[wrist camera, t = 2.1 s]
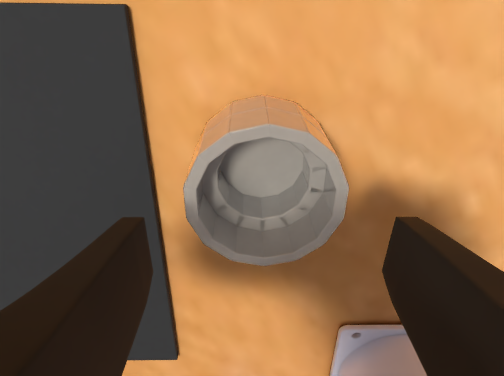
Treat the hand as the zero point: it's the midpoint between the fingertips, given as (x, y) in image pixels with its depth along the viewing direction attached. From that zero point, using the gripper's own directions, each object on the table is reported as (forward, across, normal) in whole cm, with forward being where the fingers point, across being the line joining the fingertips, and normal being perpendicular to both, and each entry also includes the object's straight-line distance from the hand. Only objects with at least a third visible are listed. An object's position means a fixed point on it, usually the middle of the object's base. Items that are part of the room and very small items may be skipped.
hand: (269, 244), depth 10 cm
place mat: (+6, +10, +4) cm, 13 cm away
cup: (+6, 0, 0) cm, 6 cm away
